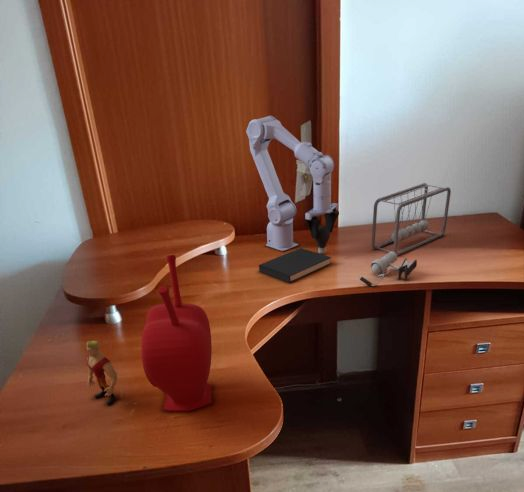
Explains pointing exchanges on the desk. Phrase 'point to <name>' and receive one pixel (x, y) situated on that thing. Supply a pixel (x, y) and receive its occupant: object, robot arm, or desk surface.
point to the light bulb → (322, 238)
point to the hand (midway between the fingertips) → (322, 235)
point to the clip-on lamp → (382, 264)
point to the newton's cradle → (413, 228)
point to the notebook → (294, 265)
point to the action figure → (100, 370)
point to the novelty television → (178, 349)
